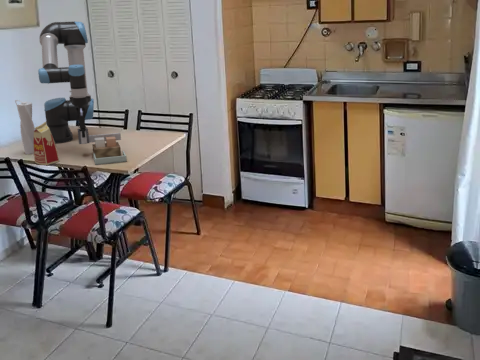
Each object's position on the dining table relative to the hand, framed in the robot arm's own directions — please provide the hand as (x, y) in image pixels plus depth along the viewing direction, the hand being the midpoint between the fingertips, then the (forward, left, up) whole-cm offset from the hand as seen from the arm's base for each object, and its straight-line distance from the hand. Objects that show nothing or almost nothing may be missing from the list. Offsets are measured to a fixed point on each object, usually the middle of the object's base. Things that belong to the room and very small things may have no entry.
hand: (84, 142), depth 286 cm
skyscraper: (-27, +15, -7) cm, 32 cm away
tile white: (+8, -5, -2) cm, 9 cm away
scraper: (+8, 0, 0) cm, 8 cm away
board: (+11, -5, -7) cm, 13 cm away
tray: (+11, -15, -7) cm, 20 cm away
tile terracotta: (+13, -5, -2) cm, 14 cm away
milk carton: (-19, -7, -7) cm, 21 cm away
